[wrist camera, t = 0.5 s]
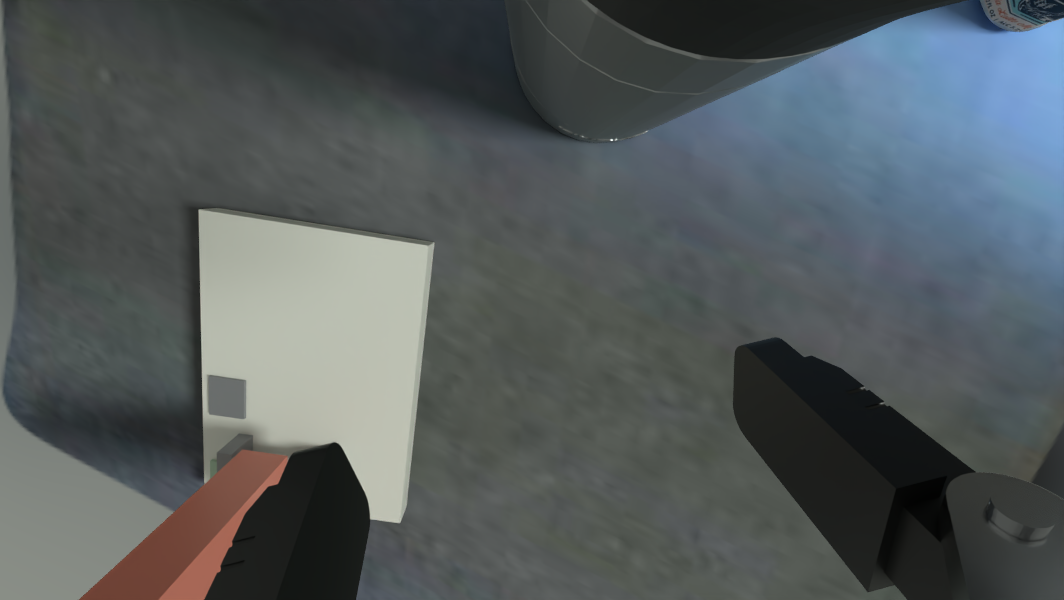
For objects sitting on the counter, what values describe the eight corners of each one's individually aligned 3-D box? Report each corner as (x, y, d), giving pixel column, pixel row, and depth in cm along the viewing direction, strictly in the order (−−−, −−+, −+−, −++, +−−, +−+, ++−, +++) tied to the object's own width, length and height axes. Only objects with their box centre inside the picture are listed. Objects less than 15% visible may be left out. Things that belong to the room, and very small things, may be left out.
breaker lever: (255, 429, 26) (7, 651, 14) (311, 437, 27) (114, 664, 14) (254, 489, 27) (21, 746, 15) (309, 496, 28) (122, 757, 15)
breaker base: (217, 207, 25) (168, 212, 22) (434, 242, 26) (419, 251, 22) (220, 480, 30) (180, 519, 26) (406, 506, 30) (390, 547, 27)
